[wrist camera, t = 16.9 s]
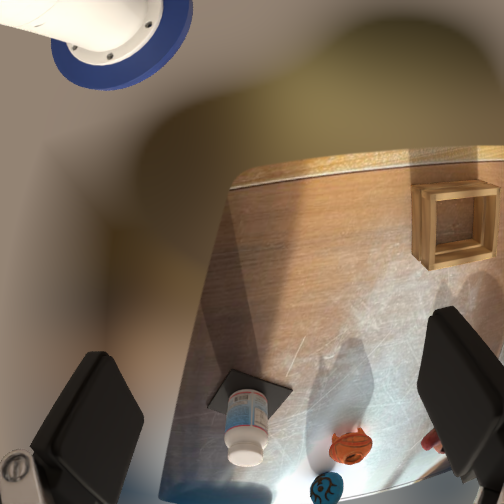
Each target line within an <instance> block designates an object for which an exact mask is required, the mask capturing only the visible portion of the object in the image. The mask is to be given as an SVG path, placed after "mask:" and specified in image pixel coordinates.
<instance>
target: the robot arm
mask: <svg viewBox="0 0 504 504" xmlns="http://www.w3.org/2000/svg"><path fill="white" fill-rule="evenodd" d="M162 13H163V0H0V24H2V25H6V26H11V27H15V28H18V29H23V30H26V31H30V32H34V33H37V34H40V35H44V36H47V37H50V38H54V39H57V40H60V41H63V42H66V43H67V46H68V48H69V50H70V52H71V53H72V54H73V56H74V57H76V58H77V59H78V60H80V61H82V62H85V63H87V64H91V65H101V66H103V65H110V64H114V63H117V62H120V61H122V60H124V59H126V58H128V57H130V56H131V55H133V54H134V53H136V52H137V51H139V50H140V49H141V48H142V47H143V46H144V45H145V44H146V43H147V42H148V41H149V39H150V38H151V37H152V36H153V34H154V32H155V31H156V29H157V27H158V26H159V23H160V20H161V18H162ZM150 25H152V26H151V27H149V26H150ZM112 56H113V58H112ZM417 389H418V393H419V395H420V397H421V399H422V402H423V404H424V406H425V408H426V410H427V412H428V415H429V417H430V419H431V421H432V423H433V426H434V428H435V430H436V432H437V435H438V437H439V439H440V442H441V444H442V446H443V449H444V451H445V453H446V456H447V458H448V461H449V463H450V466H451V468H452V471H453V473H454V475H455V476H456V477H459V476H460V477H461V480H462V483H466V482H468V481H470V480H472V479H475V478H477V480H478V482H479V485H480V488H479V490H478V493H477V495H476V498H475V501H474V503H473V504H504V366H503V365H502V364H501V362H500V361H499V360H498V358H497V357H496V356H495V355H494V353H493V352H492V351H491V350H490V348H489V347H488V346H487V345H486V343H485V342H484V341H483V340H482V338H481V337H480V336H479V335H478V334H477V332H476V331H475V330H474V329H473V328H472V326H471V325H470V324H469V323H468V322H467V321H466V319H465V318H464V317H463V316H462V315H461V314H460V312H459V311H458V310H457V309H456V308H455V307H454V306H449V307H445V308H441V309H437V310H435V311H434V312H433V316H430V317H429V319H428V324H427V331H426V338H425V344H424V350H423V355H422V361H421V366H420V371H419V376H418V381H417ZM143 423H144V416H143V413H142V411H141V410H140V408H139V406H138V404H137V402H136V401H135V399H134V397H133V395H132V393H131V391H130V390H129V388H128V386H127V384H126V382H125V380H124V378H123V376H122V374H121V373H120V371H119V369H118V367H117V365H116V363H115V361H114V359H113V358H112V357H111V356H109V355H108V354H107V353H106V352H104V351H100V352H99V351H98V352H88V353H87V354H86V355H85V357H84V358H83V360H82V361H81V363H80V364H79V366H78V367H77V369H76V371H75V372H74V374H73V375H72V377H71V378H70V380H69V381H68V383H67V385H66V386H65V388H64V389H63V391H62V393H61V394H60V396H59V397H58V399H57V401H56V402H55V404H54V405H53V407H52V409H51V410H50V412H49V414H48V416H47V417H46V419H45V420H44V422H43V424H42V426H41V427H40V429H39V431H38V432H37V434H36V436H35V438H34V440H33V441H32V443H31V445H30V447H31V448H32V449H33V451H34V454H33V455H31V454H30V452H28V451H27V450H24V449H16V450H13V451H11V452H9V453H7V454H6V455H5V456H4V457H3V459H2V460H1V462H0V504H117V502H118V499H119V496H120V493H121V490H122V487H123V483H124V480H125V477H126V474H127V471H128V468H129V465H130V462H131V459H132V456H133V453H134V450H135V447H136V444H137V441H138V438H139V435H140V432H141V430H142V426H143Z"/></svg>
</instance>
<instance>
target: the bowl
mask: <svg viewBox="0 0 504 504" xmlns="http://www.w3.org/2000/svg"><path fill="white" fill-rule="evenodd" d="M421 445H422V447H423V448H424V450H426V451H427V450H430V449H431V448H432V447H433V448H434V449H435V450H436V451H437V452H438V453H441V454H445V451H444V449H443V446H442V444H441V442H440V439H439V437H438V435H437V432H436V430H435V428H433V429H432V430H431V431H430V432H429V433H428V434H427V435H426V436H425V437H424V438H423V439H422V441H421Z"/></svg>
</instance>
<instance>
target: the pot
mask: <svg viewBox="0 0 504 504" xmlns="http://www.w3.org/2000/svg"><path fill="white" fill-rule="evenodd" d="M371 448H372V439H371V438H370V437H369V436H367V435H366V434H365V433H364V431H363V430H362V428H358V432H356V433H347V434H344V435H342V436H341V437H337V436H336V434H335V433H334V434H333V436H332V445H331V447H330V449H329V455H330V457H331V458H332V459H333V460H334V461H336V462H339V463H344V464H347V465H352V464H355V463H358V462H360V461H361V460H362V459H363V458H364V457H365V456H366V455H367V454H368V453H369V451H370V450H371Z"/></svg>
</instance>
